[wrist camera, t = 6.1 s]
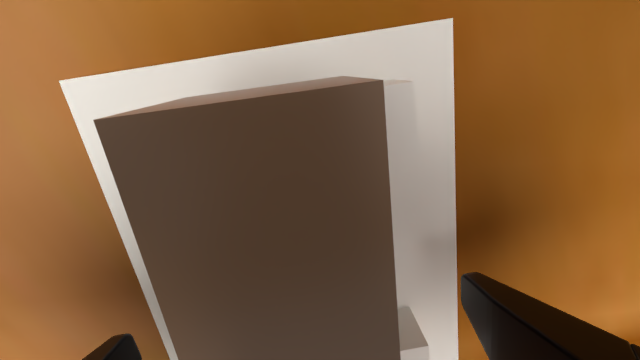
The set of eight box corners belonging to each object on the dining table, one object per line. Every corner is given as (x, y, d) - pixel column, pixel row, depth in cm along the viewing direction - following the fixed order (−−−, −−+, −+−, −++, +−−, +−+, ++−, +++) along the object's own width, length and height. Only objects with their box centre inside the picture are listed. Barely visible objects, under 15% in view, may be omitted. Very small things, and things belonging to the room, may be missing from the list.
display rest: (439, 22, 11) (490, 5, 8) (448, 344, 15) (483, 405, 13) (79, 79, 11) (1, 83, 8) (197, 389, 15) (174, 463, 12)
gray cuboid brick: (186, 97, 8) (92, 120, 4) (343, 75, 8) (383, 79, 5) (270, 426, 12) (259, 588, 8) (376, 408, 12) (413, 560, 8)
